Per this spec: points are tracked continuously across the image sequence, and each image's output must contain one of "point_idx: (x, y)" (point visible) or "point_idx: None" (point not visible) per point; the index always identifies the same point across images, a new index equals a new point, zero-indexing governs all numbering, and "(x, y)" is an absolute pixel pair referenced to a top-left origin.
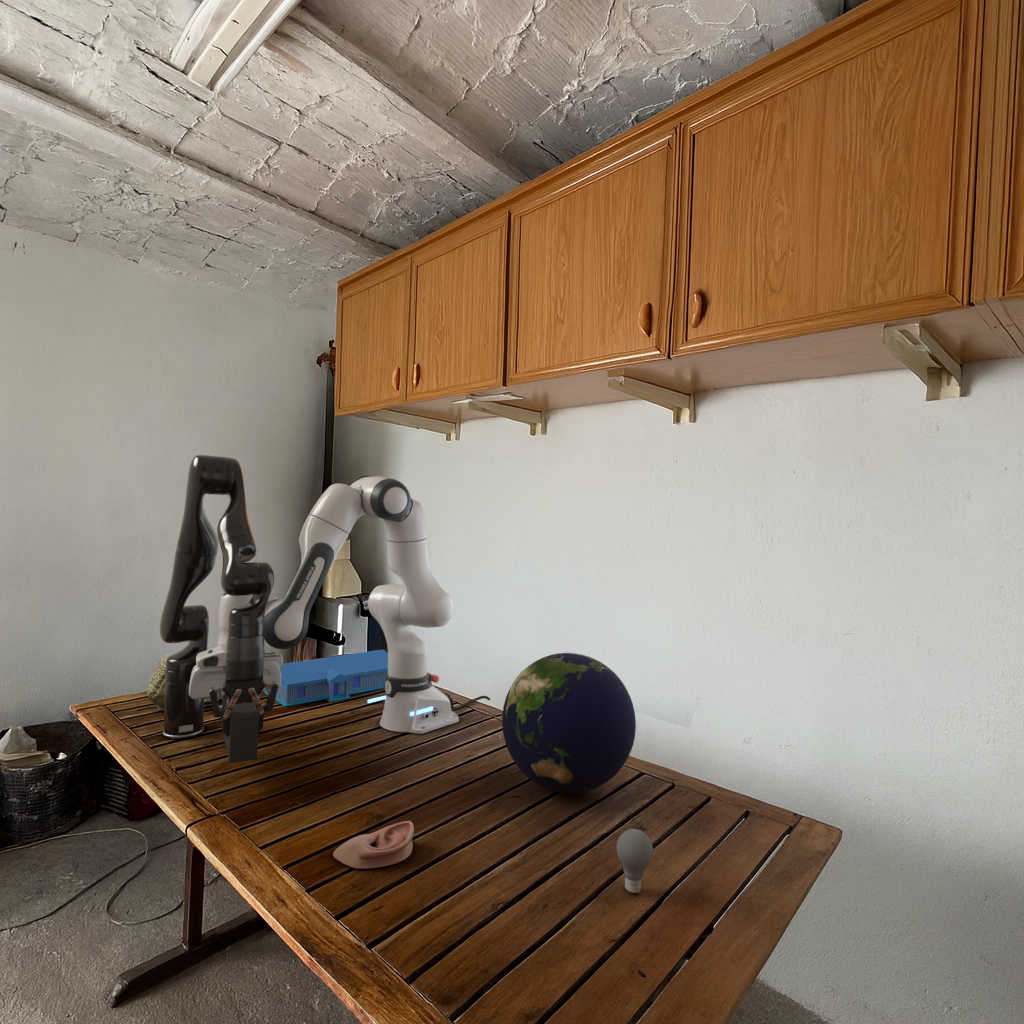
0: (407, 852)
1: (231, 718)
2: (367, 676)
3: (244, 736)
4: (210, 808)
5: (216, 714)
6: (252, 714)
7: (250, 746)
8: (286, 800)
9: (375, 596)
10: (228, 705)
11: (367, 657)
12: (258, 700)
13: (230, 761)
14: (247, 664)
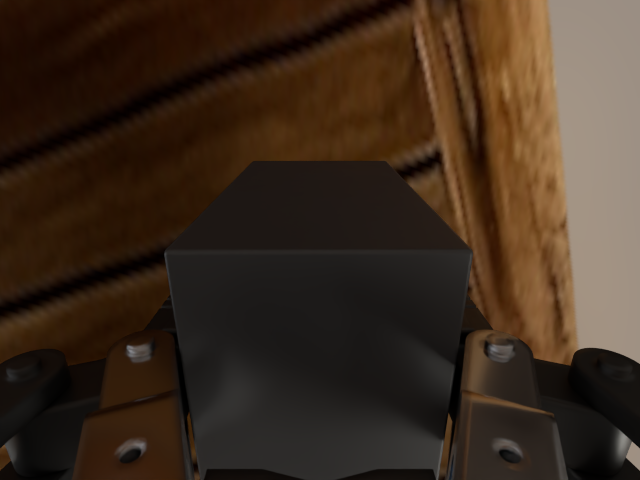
0: None
1: (467, 261)
2: None
3: (317, 191)
4: (438, 57)
5: (624, 367)
6: (231, 312)
7: (279, 175)
8: (163, 5)
9: None
10: (554, 443)
11: None
12: (87, 463)
13: (383, 161)
14: None
